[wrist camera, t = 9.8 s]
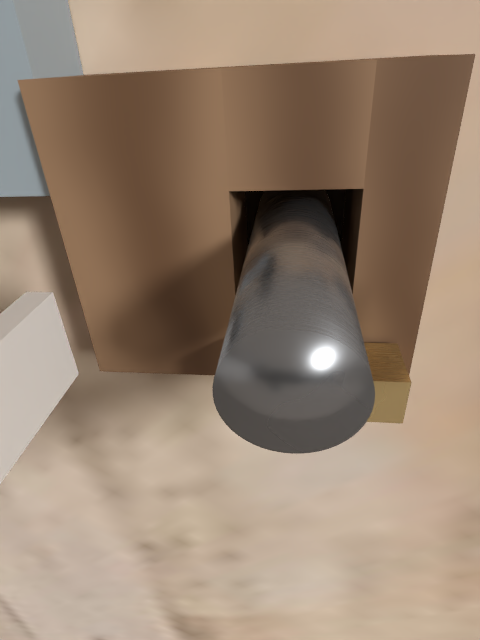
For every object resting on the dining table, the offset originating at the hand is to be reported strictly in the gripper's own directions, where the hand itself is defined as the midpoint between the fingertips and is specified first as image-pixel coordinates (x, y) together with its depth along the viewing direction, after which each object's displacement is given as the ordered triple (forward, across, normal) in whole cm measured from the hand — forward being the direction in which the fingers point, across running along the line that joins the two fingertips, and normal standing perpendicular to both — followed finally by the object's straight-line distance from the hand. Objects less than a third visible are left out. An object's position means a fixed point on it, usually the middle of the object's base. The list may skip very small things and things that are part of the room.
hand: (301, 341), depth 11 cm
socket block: (+11, -2, 0) cm, 11 cm away
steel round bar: (+11, 0, 0) cm, 11 cm away
